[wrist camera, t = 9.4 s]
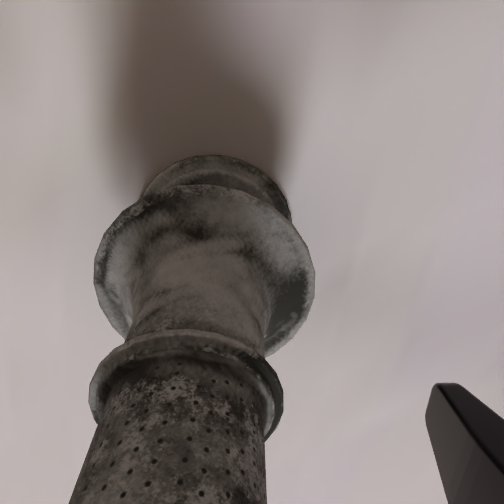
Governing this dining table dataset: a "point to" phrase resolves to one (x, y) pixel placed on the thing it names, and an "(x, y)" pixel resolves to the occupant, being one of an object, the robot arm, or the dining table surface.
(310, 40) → the dining table surface
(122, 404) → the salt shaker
